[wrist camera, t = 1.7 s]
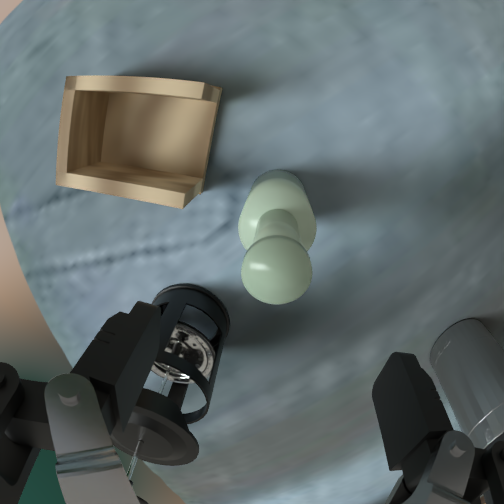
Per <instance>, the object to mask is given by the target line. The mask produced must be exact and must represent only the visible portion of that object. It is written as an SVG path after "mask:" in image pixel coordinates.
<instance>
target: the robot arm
mask: <svg viewBox="0 0 504 504" xmlns="http://www.w3.org/2000/svg"><path fill="white" fill-rule="evenodd" d="M160 322H161V308H160V306H156V305H152V304H149V303H145V302H141V301H138V302H137V303H136V304H135V306H134V307H133V309H132V310H131V311H130V313H129V314H127V313H123V312H119V313H117V314H115V315H114V316H112V317H110V318H109V319H108V320H107V321H106V322H105V324H104V325H103V326H102V328H101V330H100V331H99V332H98V333H97V335H96V336H95V338H94V340H92V342H91V343H90V345H89V346H88V348H87V349H86V350H85V352H84V353H83V355H82V356H81V358H80V359H79V361H78V362H77V364H76V365H75V367H74V368H73V369H72V371H71V372H70V373H65V374H60V375H58V376H56V377H54V378H52V379H51V380H50V381H49V382H37V381H31V380H24V379H20V378H19V375H18V373H17V371H16V370H15V368H13V367H12V366H11V365H9V364H7V363H2V362H0V504H18V501H19V499H20V496H21V494H22V491H23V489H24V487H25V484H26V482H27V479H28V477H29V475H30V472H31V470H32V468H33V465H34V463H35V461H36V459H37V456H38V454H39V452H40V450H41V449H46V450H53V451H55V452H56V456H57V463H56V472H57V476H58V480H59V483H60V486H61V490H62V493H63V496H64V499H65V502H66V504H140V503H139V500H138V498H137V496H136V494H135V492H134V490H133V488H132V486H131V484H130V481H129V479H128V477H127V475H126V472H125V470H124V468H123V466H122V463H121V461H120V459H119V456H118V454H117V453H116V451H115V449H114V446H113V444H112V441H111V438H110V436H111V434H112V431H113V430H114V431H117V432H120V433H124V431H125V428H126V426H127V424H128V421H129V419H130V416H131V414H132V412H133V409H134V407H135V405H136V402H137V400H138V398H139V395H140V393H141V391H142V389H143V386H144V384H145V382H146V379H147V377H148V375H149V373H150V370H151V368H152V366H153V364H154V362H155V359H156V357H157V353H158V349H159V343H160ZM430 361H431V365H432V367H433V369H434V371H435V373H436V375H437V377H438V379H439V381H440V384H441V386H442V388H443V390H444V392H445V395H446V397H447V399H448V401H449V403H450V406H451V408H452V410H453V412H454V415H455V417H456V419H457V422H458V424H459V427H460V429H461V431H462V432H460V431H456V430H453V427H452V425H451V422H450V420H449V418H448V415H447V413H446V410H445V408H444V406H443V403H442V401H441V400H440V396H439V394H438V392H437V391H436V387H435V385H434V383H433V381H432V379H431V377H430V376H429V375H428V374H427V373H426V372H425V371H424V369H422V368H421V367H420V365H419V362H418V360H417V358H416V356H415V355H414V354H410V353H401V352H394V353H392V354H391V356H390V357H389V359H388V361H387V362H386V364H385V366H384V367H383V369H382V371H381V372H380V374H379V376H378V377H377V379H376V381H375V382H374V385H373V389H372V398H373V402H374V406H375V410H376V414H377V418H378V422H379V426H380V430H381V434H382V439H383V443H384V447H385V452H386V456H387V461H388V466H389V470H390V471H394V470H402V471H403V475H402V476H401V477H400V478H399V479H398V481H397V482H396V484H395V486H394V488H393V490H392V492H391V493H390V495H389V497H388V499H387V500H386V502H385V504H481V500H480V496H481V495H482V494H483V495H484V498H485V502H486V504H504V351H503V349H502V348H501V346H500V345H499V344H498V342H497V341H496V340H495V338H494V337H493V336H492V334H491V333H490V332H489V331H488V330H487V329H486V328H485V326H484V325H483V324H482V323H481V322H480V321H479V320H476V319H467V320H463V321H460V322H458V323H456V324H454V325H453V326H451V327H450V328H449V329H447V330H446V331H445V332H444V333H443V334H442V335H441V336H440V337H439V338H438V340H437V341H436V343H435V344H434V346H433V348H432V351H431V355H430Z"/></svg>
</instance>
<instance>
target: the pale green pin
mask: <svg viewBox="0 0 504 504" xmlns="http://www.w3.org/2000/svg"><path fill="white" fill-rule="evenodd" d="M238 230H239V236H240V240H241V242H242V244H243V246H244V247H245V249H246V250H247V252H246V254H245V256H244V260H243V264H242V269H241V276H242V281H243V284H244V286H245V288H246V289H247V291H248V292H249V293H250V294H251V295H252V296H253V297H255V298H256V299H258V300H260V301H262V302H265V303H268V304H285V303H289V302H292V301H294V300H296V299H297V298H299V297H300V296H301V295H303V294H304V293H305V291H306V290H307V289H308V287H309V285H310V283H311V279H312V266H311V261H310V257H309V254H308V253H307V251H308V250H309V249H310V247H311V246H312V244H313V242H314V239H315V235H316V220H315V217H314V214H313V211H312V208H311V206H310V203H309V200H308V198H307V195H306V192H305V190H304V187H303V185H302V183H301V182H300V180H299V179H298V178H297V177H296V176H295V175H293V174H291V173H289V172H287V171H284V170H271V171H268V172H265V173H263V174H262V175H260V176H259V177H258V178H257V179H256V180H255V182H254V183H253V185H252V187H251V190H250V192H249V195H248V197H247V200H246V203H245V205H244V208H243V210H242V213H241V216H240V219H239V225H238Z"/></svg>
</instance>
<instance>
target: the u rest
mask: <svg viewBox="0 0 504 504" xmlns="http://www.w3.org/2000/svg"><path fill="white" fill-rule="evenodd" d="M221 93H222V88H221V87H216V86H210V85H208V84H206V83H203V82H195V81H186V80H177V79H165V78H152V77H135V76H66V82H65V88H64V94H63V101H62V108H61V117H60V126H59V136H58V149H57V166H56V185H59V186H65V187H71V188H76V189H82V190H87V191H93V192H98V193H104V194H109V195H114V196H120V197H125V198H130V199H135V200H140V201H145V202H150V203H155V204H160V205H165V206H170V207H175V208H180V209H183V208H184V207H185V206H186V205H187V204H188V203H189V202H190V201H191V200H192V199H193V198H194V197H195V196H196V195H197V194H201V193H202V192H203V188H204V182H205V176H206V170H207V165H208V159H209V153H210V148H211V143H212V137H213V132H214V127H215V122H216V117H217V112H218V107H219V102H220V97H221Z"/></svg>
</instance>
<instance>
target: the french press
mask: <svg viewBox="0 0 504 504" xmlns="http://www.w3.org/2000/svg"><path fill="white" fill-rule="evenodd" d="M168 303H169V304H168ZM164 304H168V305H167V307H166V309H165V311H164V313H163V315H162V316H161V322H160V343H159V349H158V353H157V357H156V359H155V362H154V364H153V366H152V368H151V371H152V372H154V373H155V374H157V375H158V376H160V377H162V378H164V379H163V381H162V384H161V386H160V389H159V391H158V393H157V392H154V391H151V390H149V389H145V388H143V389H142V391H141V393H140V395H139V398H138V400H137V402H136V405H135V407H134V409H133V412H132V414H131V416H130V419H129V421H128V424H127V426H126V428H125V431H124V433H120V432H117V431H114V430H113V431H112V434H111V436H110V438H111V441H112V444H113V445H114V446H115V447H117V448H118V449H120V450H121V451H123V452H125V453H127V454H129V455H131V456H133V459H132V461H131V464H130V467H129V470H128V473H127V477H128V479H129V481H130V484H131V486H132V485H133V482H132V481H131V480H130V478H131V475H132V472H133V469H134V467H135V464H136V461H137V458H138V459H141V460H144V461H147V462H151V463H154V464H160V465H170V466H175V465H183V464H188V463H190V462H192V461H193V460H194V459H196V458H197V455H198V453H199V444H198V442H197V440H196V438H195V437H194V436H193V434H192V433H191V432H190V431H189V429H188V426H187V424H191V423H194V422H197V421H199V420H200V419H202V418H203V417H204V416H205V415H206V414H207V411H208V409H209V405H210V401H211V396H212V392H213V388H214V383H215V379H216V375H217V371H218V366H219V362H220V358H221V353H222V349H223V345H224V341H225V338H226V337H227V334H228V332H229V326H230V321H229V315H228V313H227V310H226V308H225V307H224V305H223V304H222V302H221V301H220V300H219V299H218V298H217V297H216V296H215V295H213V294H212V293H211V292H209V291H207V290H205V289H203V288H201V287H198V286H195V285H190V284H176V285H171V286H169V287H167V288H164V289H163V290H162V291H160V292H159V293H158V294H157V295H156V297H155V298H154V300H153V302H152V305H156V306H160V308H161V309H162V307H163V305H164ZM186 305H189V306H192V307H195V308H197V309H199V310H201V311H202V312H204V313H205V314H207V315H208V316H209V317H210V318H211V319H212V320H213V321H214V322H215V324H216V325H217V327H218V329H217V332H216V334H215V335H214V336H213V337H212V338H211V339H210V340H208V338H207V337H206V336H205V335H204V334H203V333H202V332H200V331H199V330H197V329H196V328H194V327H193V326H191V325H189V324H187V323H184V322H182V321H179V319H180V316H181V314H182V312H183V310H184V308H185V306H186ZM209 376H210V378H209V382H208V381H207V379H206V378H208V377H209ZM167 380H169V381H172V382H173V383H172V386H171V389H170V392H169V394H168V397H166V396H164V395H162V391H163V389H164V386H165V384H166V381H167ZM189 383H196V384H197V385H198V386H199V387H200V388H201V390H202V392H203V393H204V395H205V398H206V401H207V403H206V404H205V406H204V407H202V408H201V409H200V410H198V411H195V412H192V413H187V414H182V412H181V411H180V410H181V407H182V404H183V400H184V397H185V394H186V391H187V388H188V384H189ZM137 498H138V500H139V503H140V504H148V503H147V502H146V501H145V500H143V499H142V498H140V497H138V496H137Z"/></svg>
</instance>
